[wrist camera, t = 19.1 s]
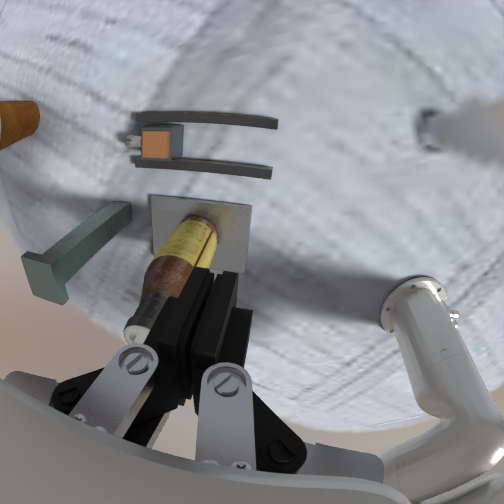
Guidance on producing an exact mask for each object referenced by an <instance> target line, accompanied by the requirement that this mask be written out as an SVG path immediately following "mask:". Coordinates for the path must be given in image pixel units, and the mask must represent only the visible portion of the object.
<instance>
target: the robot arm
mask: <svg viewBox="0 0 504 504" xmlns="http://www.w3.org/2000/svg"><path fill="white" fill-rule="evenodd" d="M238 276H239V274H238V273H235V272H228V271H224V272H223V275H222V274H218V275H217V277H216V280H215V282H214V273H210V270H209V268H202V267H196V266H195V267H194V268H193V270H192V272H191V274H190V276H189V278H188V280H187V282H186V283H185V285H184V287H183V289H182V291H181V293H180V295H179V297H172V296H170V297H168V299H167V300H166V302H165V304H164V306H163V307H162V309H161V311H160V313H159V315H158V317H157V318H156V320H155V322H154V324H153V326H152V328H151V330H150V332H149V333H148V335H147V337H146V339H145V341H144V343H143V344H130V345H127V346H125V347H123V348H121V349H120V350H119V351H118V352H117V353H116V354H115V356H114V357H113V358H112V359H111V361H110V362H109V363H108V364H107V366H106V367H104V368H101V369H99V370H96V371H93V372H90V373H87V374H84V375H81V376H78V377H75V378H72V379H69V380H66V381H64V382H61V383H58V381H57V380H55V379H50V378H45V377H41V376H37V375H33V374H29V373H25V372H21V371H14V372H11V373H9V374H8V375H7V376H6V378H5V379H4V380H2V379H0V504H504V473H502V472H500V473H495V474H492V475H489V476H487V477H485V478H483V479H480V480H478V481H476V482H474V483H472V484H470V485H468V486H466V487H464V488H462V489H460V490H458V491H455V492H453V493H451V494H449V495H447V496H444V497H441V498H439V499H436V500H432V499H431V498H432V497H434V496H437V495H439V494H442V493H444V492H446V491H450V490H452V489H454V488H456V487H458V486H461V485H463V484H465V483H467V482H469V481H471V480H473V479H475V478H476V477H478V476H480V475H482V474H483V473H485V472H487V471H488V470H489V469H490V468H492V467H493V466H495V464H497V463H498V462H499V460H501V458H502V457H503V456H504V416H503V415H502V413H501V411H500V410H499V408H498V406H497V405H496V403H495V402H494V400H493V398H492V396H491V395H490V393H489V391H488V389H487V387H486V386H485V383H484V381H483V379H482V377H481V375H480V373H479V371H478V369H477V367H476V365H475V363H474V361H473V359H472V357H471V355H470V353H469V351H468V349H467V347H466V345H465V343H464V341H463V339H462V337H461V335H460V333H459V331H458V329H457V326H458V323H457V321H456V320H452V319H451V318H457V317H458V314H459V313H458V311H455V310H451V311H450V310H449V308H448V307H447V305H446V302H447V296H446V291H445V289H444V288H443V286H442V285H441V283H440V282H438V281H437V280H435V279H433V278H429V277H418V278H414V279H411V280H409V281H406V282H404V283H403V284H401V285H399V286H398V287H397V288H396V289H394V290H393V291H392V292H391V293H390V294H389V296H388V297H387V298H386V300H385V301H384V304H383V306H382V308H381V312H380V319H381V323H382V326H383V328H384V329H385V331H386V332H387V333H388V334H390V335H392V336H395V337H396V339H397V342H398V345H399V348H400V351H401V354H402V357H403V360H404V363H405V366H406V370H407V373H408V376H409V379H410V383H411V386H412V390H413V393H414V397H415V400H416V402H417V404H418V406H419V407H420V408H421V409H422V410H423V411H424V412H426V413H428V414H430V415H432V416H435V417H437V418H440V419H441V421H440V422H439V423H438V424H437V425H436V426H434V427H432V428H430V429H429V430H427V431H425V432H424V433H422V434H420V435H418V436H416V437H414V438H412V439H409V440H407V441H405V442H403V443H401V444H399V445H397V446H395V447H393V448H391V449H389V450H387V451H386V452H385V453H383V454H382V456H381V457H380V458H378V457H377V456H376V455H373V454H370V453H363V452H358V451H352V450H347V449H341V448H337V447H332V446H328V445H323V444H319V443H316V444H315V445H313V444H309V443H305V442H303V441H302V440H301V438H300V437H299V436H297V435H296V434H295V433H294V432H293V431H292V430H291V429H290V428H289V427H288V426H287V425H286V424H285V423H284V422H283V421H282V420H281V419H280V418H279V417H278V416H277V415H276V414H275V413H274V412H273V411H272V410H271V409H270V408H269V407H268V406H267V405H266V404H265V403H264V402H263V401H262V400H261V399H260V398H259V397H258V396H257V395H256V394H255V393H254V392H253V391H252V381H251V376H250V375H249V373H248V372H247V371H246V370H245V369H244V364H245V359H246V353H247V347H248V341H249V335H250V328H251V321H252V314H253V310H248V309H242V308H236V299H237V287H238ZM192 395H193V399H194V407H195V413H196V414H197V415H198V428H197V441H196V455H195V460H190V459H186V458H182V457H178V456H174V455H170V454H167V453H163V452H160V451H157V450H153V449H151V448H152V446H153V445H154V443H155V441H156V439H157V437H158V435H159V434H160V432H161V430H162V428H163V426H164V425H165V423H166V421H167V419H168V417H169V414H170V411H172V410H174V409H176V408H177V407H178V405H182V406H184V403H185V401H186V399H191V398H192Z"/></svg>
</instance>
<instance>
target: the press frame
mask: <svg viewBox="0 0 504 504" xmlns="http://www.w3.org/2000/svg"><path fill="white" fill-rule="evenodd" d="M278 120H279V119H273V118H264V117H255V116H244V115H232V114H217V113H195V112H144V113H136V122H194V123H214V124H228V125H240V126H250V127H260V128H268V129H276V130H277V129H278ZM135 167H138V168H157V169H173V170H186V171H198V172H209V173H219V174H229V175H238V176H247V177H255V178H263V179H270V180H271V177H272V169H273V167H266V166H258V165H249V164H241V163H231V162H221V161H210V160H198V159H184V158H176V159H174V160H172V161H157V160H141V157H138V158H136V159H135ZM151 214H152V233H153V248H154V258H155V256H156V255H157V253H158V252H159V250H160V249H161V247H162V246H163V244H164V243H165V242H166V240H167V239H168V237H169V236H170V234H171V233H172V231H173V230H174V229H175V227H176V226H177V225H178V224H179V223H180V222H181V221H182V220H184V219H186V218H190V217H200V218H203V219H205V220H207V221H209V222H210V223H211V224H212V225H213V227H214V229H215V231H216V234H217V239H218V242H217V246H216V250H215V252H214V255H213V258H212V260H211V263H210V266H209V268H212V269H218V270H225V271H231V272H238V273H245V270H246V261H247V251H248V242H249V232H250V223H251V214H252V206H249V205H242V204H234V203H226V202H217V201H209V200H200V199H191V198H181V197H171V196H161V195H153V196H152V197H151ZM131 221H132V220H131V206H130V202H121V201H113V202H111V203H110V204H109V205H107V206H106V207H104V208H103V209H101V210H100V211H98V212H97V213H96V214H94V215H93V216H91V217H90V218H89V219H87V220H86V221H85V222H83V223H82V224H81V225H79V226H78V227H76V228H75V229H74V230H73V231H71V232H70V233H69V234H67V235H66V236H65V237H63V238H62V239H61V240H60V241H58V242H57V243H56V244H55V245H53V246H52V247H51V248H50V249H48V250H47V251H46V252H45V253H44V254H42V255H41V254H37V253H33V252H29V251H27V252H26V253H25V254H23V255H22V256H21V260H22V263H23V266H24V269H25V272H26V275H27V278H28V281H29V284H30V287H31V290H32V293H33V295H35V296H38V297H40V298H43V299H45V300H48V301H51V302H54V303H57V304H60V305H64V304H65V303H66V302H67V301H68V299H69V297H68V294H67V291H66V288H65V284H66V283H67V282H68V281H69V280H70V279H71V278H72V277H73V276H74V274H75V273H76V272H77V271H78V270H79V269H80V268H81V267H82V266H83V265H85V264H86V263H87V262H88V261H89V260H90V259H91V258H92V257H93V256H94V255H95V254H96V253H97V252H98V251H99V250H100V249H101V248H102V247H103V246H104V245H105V244H106V243H108V242H109V241H110V240H111V239H112V238H113V237H114V236H115V235H116V234H117V233H119V232H120V231H121V230H122V229H123V228H124V227H125V226H126V225H128V224H129V223H130V222H131Z"/></svg>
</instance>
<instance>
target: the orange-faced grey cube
mask: <svg viewBox="0 0 504 504" xmlns="http://www.w3.org/2000/svg"><path fill="white" fill-rule="evenodd" d="M183 130H184V125H152V126H147V127H143V128H141V135H128V136H127V137H126V140H125V145H126V147H141V160H157V161H172V160H174V159H176V158H178V157H180V156H182V151H183Z"/></svg>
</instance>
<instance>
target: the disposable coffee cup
mask: <svg viewBox="0 0 504 504" xmlns="http://www.w3.org/2000/svg"><path fill="white" fill-rule="evenodd" d="M39 119H40V114H39V109H38V106H37V104H36V103H35V102H33V101H2V102H0V150H2V149H4V148H6V147H8V146H10V145H12V144H13V143H15V142H17V141H19V140H21V139H23V138H25V137H27V136H29V135H32V134H33V133H34V132H35V131H36V129H37V127H38V124H39Z"/></svg>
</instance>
